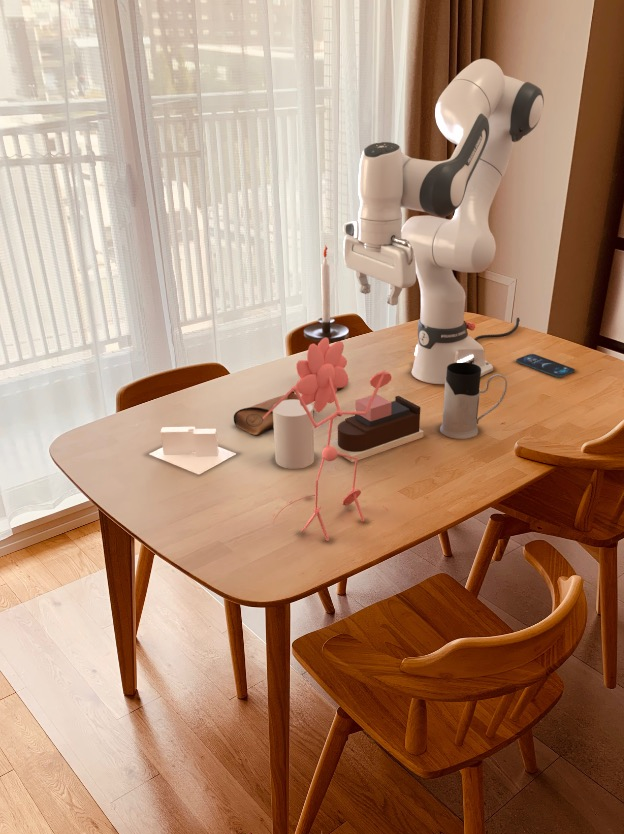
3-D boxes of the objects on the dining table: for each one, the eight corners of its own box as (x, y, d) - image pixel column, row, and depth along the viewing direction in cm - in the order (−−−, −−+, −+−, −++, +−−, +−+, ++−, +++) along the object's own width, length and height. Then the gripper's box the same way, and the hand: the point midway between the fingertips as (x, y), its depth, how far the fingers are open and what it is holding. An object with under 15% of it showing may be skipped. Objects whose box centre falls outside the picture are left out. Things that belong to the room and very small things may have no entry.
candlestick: (352, 392, 199) (353, 249, 181) (309, 395, 197) (305, 251, 178) (343, 375, 208) (343, 237, 190) (302, 378, 206) (297, 239, 187)
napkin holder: (147, 454, 170) (144, 430, 167) (186, 434, 178) (183, 411, 175) (199, 474, 163) (196, 450, 160) (237, 453, 171) (235, 429, 168)
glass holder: (438, 421, 187) (442, 360, 178) (499, 422, 187) (506, 361, 179) (441, 438, 179) (445, 376, 171) (504, 439, 179) (511, 377, 171)
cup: (297, 446, 174) (295, 396, 168) (322, 460, 169) (320, 408, 163) (267, 458, 169) (264, 407, 163) (292, 472, 165) (289, 420, 158)
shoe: (399, 423, 185) (400, 393, 181) (423, 437, 180) (425, 406, 176) (329, 447, 174) (328, 416, 170) (352, 462, 169) (352, 430, 165)
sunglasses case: (256, 435, 177) (245, 407, 176) (241, 441, 183) (229, 413, 181) (317, 411, 188) (306, 384, 187) (300, 417, 194) (290, 391, 193)
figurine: (397, 506, 154) (404, 332, 136) (296, 562, 138) (288, 372, 120) (342, 478, 163) (341, 310, 144) (241, 527, 147) (225, 345, 128)
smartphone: (559, 376, 209) (514, 359, 218) (558, 378, 210) (514, 361, 219) (576, 369, 214) (532, 353, 223) (576, 371, 214) (531, 355, 223)
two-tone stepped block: (394, 405, 179) (394, 388, 177) (409, 414, 176) (410, 396, 173) (354, 418, 173) (354, 400, 171) (369, 427, 170) (370, 409, 168)
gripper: (425, 239, 157) (421, 308, 165) (362, 219, 171) (361, 284, 178) (400, 244, 154) (398, 314, 161) (338, 223, 167) (338, 289, 175)
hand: (378, 298), depth 170 cm, fingers open, 8 cm apart
